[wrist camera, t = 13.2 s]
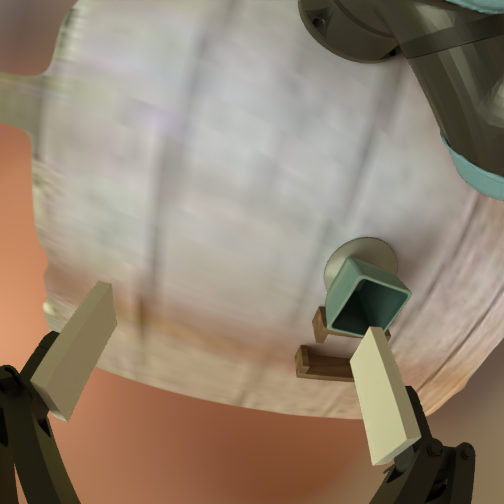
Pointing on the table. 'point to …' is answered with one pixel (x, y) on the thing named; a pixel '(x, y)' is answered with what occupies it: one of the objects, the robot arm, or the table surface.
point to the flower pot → (364, 298)
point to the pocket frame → (324, 365)
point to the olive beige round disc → (361, 257)
